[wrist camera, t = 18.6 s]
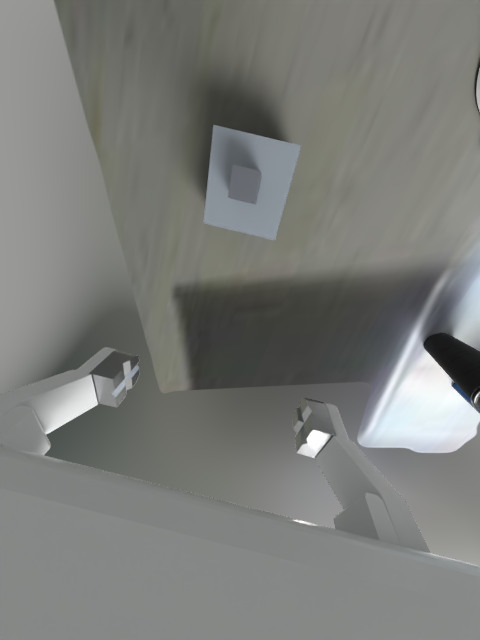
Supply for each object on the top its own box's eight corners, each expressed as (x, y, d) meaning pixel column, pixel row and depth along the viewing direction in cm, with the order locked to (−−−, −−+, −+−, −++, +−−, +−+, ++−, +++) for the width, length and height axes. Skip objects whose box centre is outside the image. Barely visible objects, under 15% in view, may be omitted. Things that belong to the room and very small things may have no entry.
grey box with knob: (293, 162, 30) (307, 133, 19) (273, 233, 35) (275, 244, 24) (227, 146, 30) (203, 108, 19) (217, 220, 35) (194, 224, 24)
